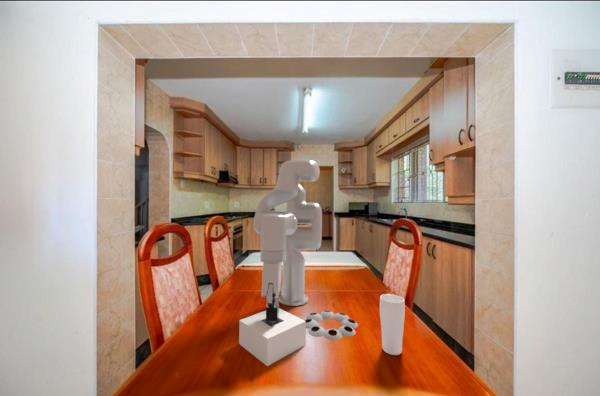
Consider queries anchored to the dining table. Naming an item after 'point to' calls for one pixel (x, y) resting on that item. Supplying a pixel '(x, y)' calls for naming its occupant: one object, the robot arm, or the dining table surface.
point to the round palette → (340, 332)
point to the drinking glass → (392, 322)
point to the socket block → (272, 336)
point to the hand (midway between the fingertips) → (272, 316)
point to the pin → (277, 314)
